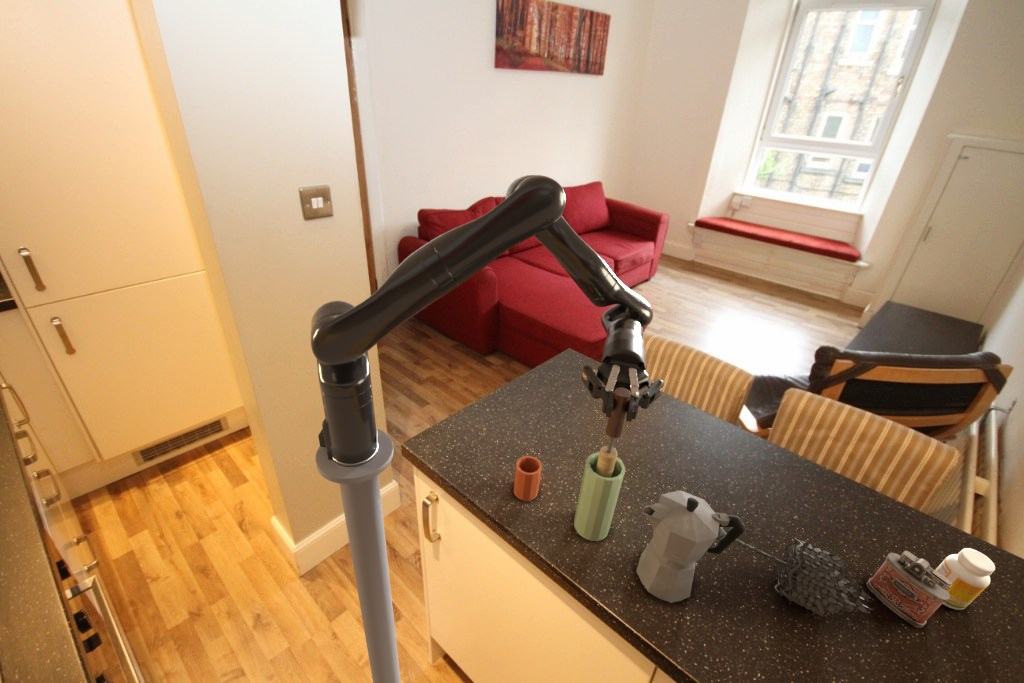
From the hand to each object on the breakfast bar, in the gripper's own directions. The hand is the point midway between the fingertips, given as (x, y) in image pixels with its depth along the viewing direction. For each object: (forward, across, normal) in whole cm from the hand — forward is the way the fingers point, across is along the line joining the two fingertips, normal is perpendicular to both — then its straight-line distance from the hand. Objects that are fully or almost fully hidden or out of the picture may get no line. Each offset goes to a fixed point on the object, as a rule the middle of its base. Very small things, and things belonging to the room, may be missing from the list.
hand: (619, 414), depth 65 cm
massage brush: (-1, +31, +28) cm, 42 cm away
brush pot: (-7, -13, +28) cm, 32 cm away
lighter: (-3, +49, +28) cm, 57 cm away
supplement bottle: (-7, +58, +28) cm, 65 cm away
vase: (-3, 0, +28) cm, 28 cm away
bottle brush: (-3, 0, +16) cm, 16 cm away
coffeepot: (+3, +14, +28) cm, 31 cm away
